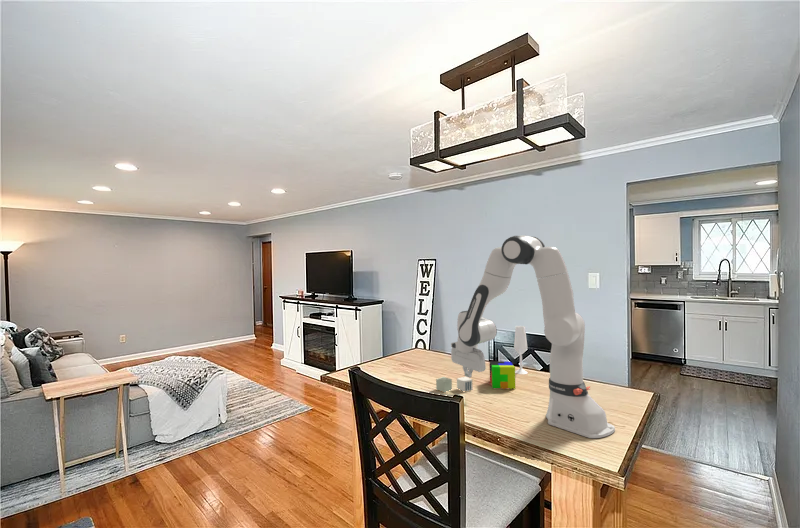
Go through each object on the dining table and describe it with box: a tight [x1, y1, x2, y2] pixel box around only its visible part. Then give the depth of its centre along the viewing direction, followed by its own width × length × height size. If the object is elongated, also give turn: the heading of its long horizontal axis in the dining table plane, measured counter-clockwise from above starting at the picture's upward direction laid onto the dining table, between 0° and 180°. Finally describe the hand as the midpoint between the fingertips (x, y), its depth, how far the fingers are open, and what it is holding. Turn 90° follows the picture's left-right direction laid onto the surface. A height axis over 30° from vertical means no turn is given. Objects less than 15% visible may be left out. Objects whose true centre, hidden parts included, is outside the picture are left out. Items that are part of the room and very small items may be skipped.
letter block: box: [456, 376, 474, 392], centre depth 167 cm, size 5×5×5 cm
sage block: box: [435, 376, 453, 393], centre depth 167 cm, size 5×5×5 cm
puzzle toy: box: [489, 360, 516, 390], centre depth 172 cm, size 10×10×10 cm
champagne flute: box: [513, 325, 528, 375], centre depth 192 cm, size 7×7×24 cm
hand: (468, 376), depth 165 cm, fingers closed
